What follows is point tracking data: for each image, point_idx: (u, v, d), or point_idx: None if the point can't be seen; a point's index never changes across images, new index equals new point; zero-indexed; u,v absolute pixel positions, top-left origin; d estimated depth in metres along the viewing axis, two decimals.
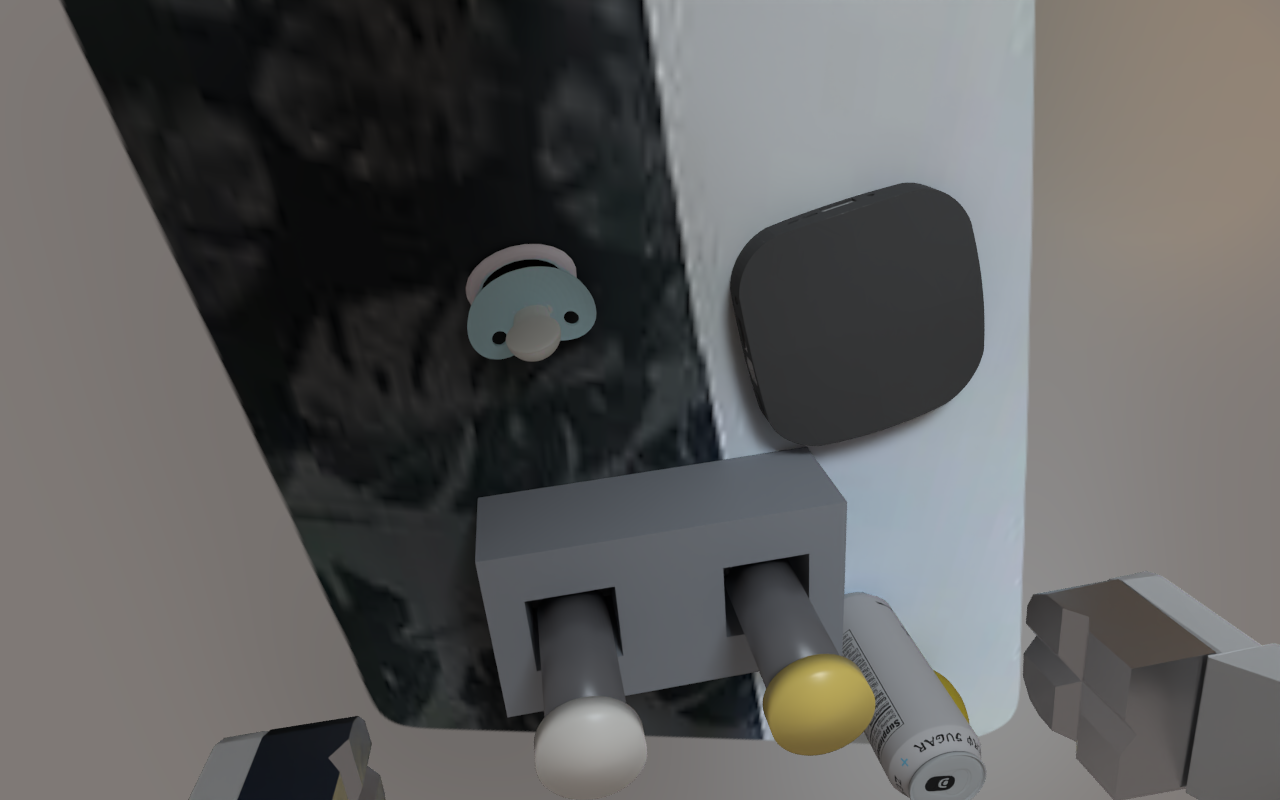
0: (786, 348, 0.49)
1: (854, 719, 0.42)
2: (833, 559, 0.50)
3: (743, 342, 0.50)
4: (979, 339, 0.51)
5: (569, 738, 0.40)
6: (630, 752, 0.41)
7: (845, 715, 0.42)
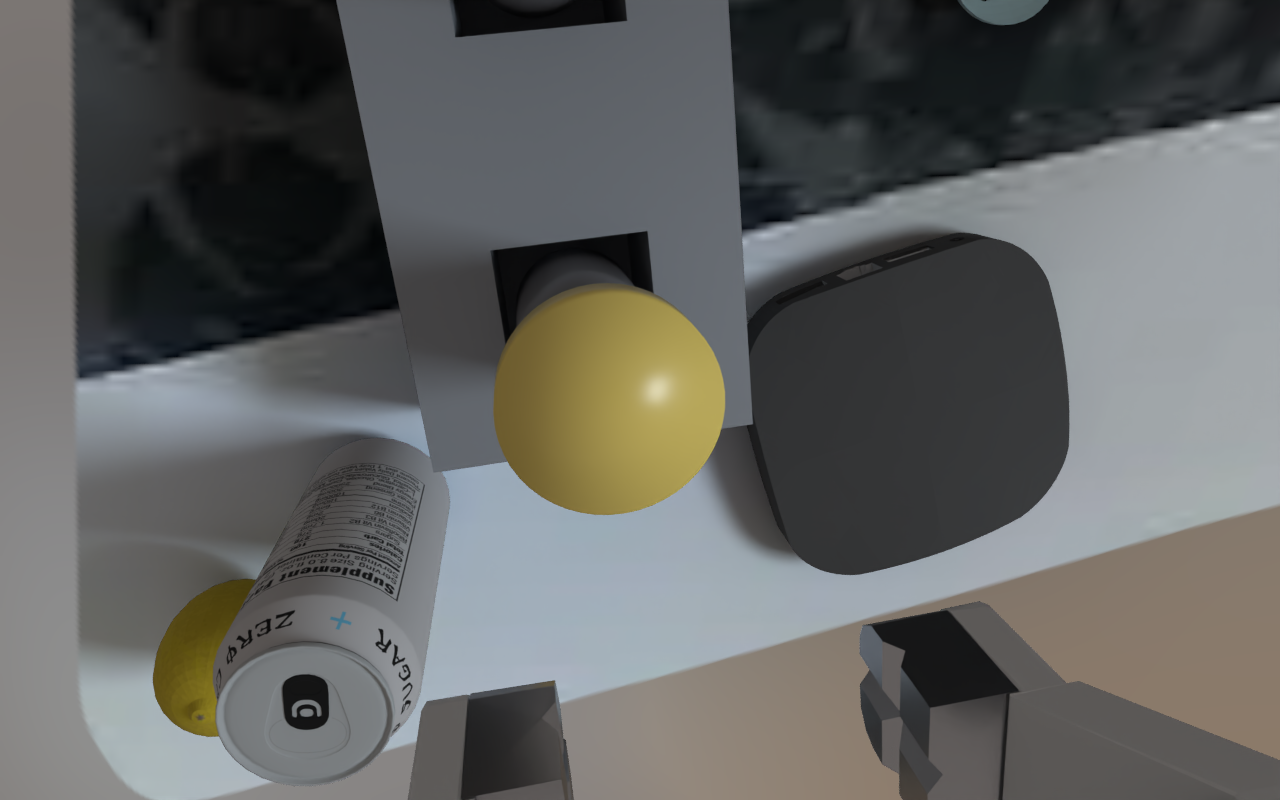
0: (907, 312, 0.35)
1: (590, 477, 0.20)
2: None
3: (888, 257, 0.36)
4: (876, 565, 0.40)
5: None
6: None
7: (604, 456, 0.20)
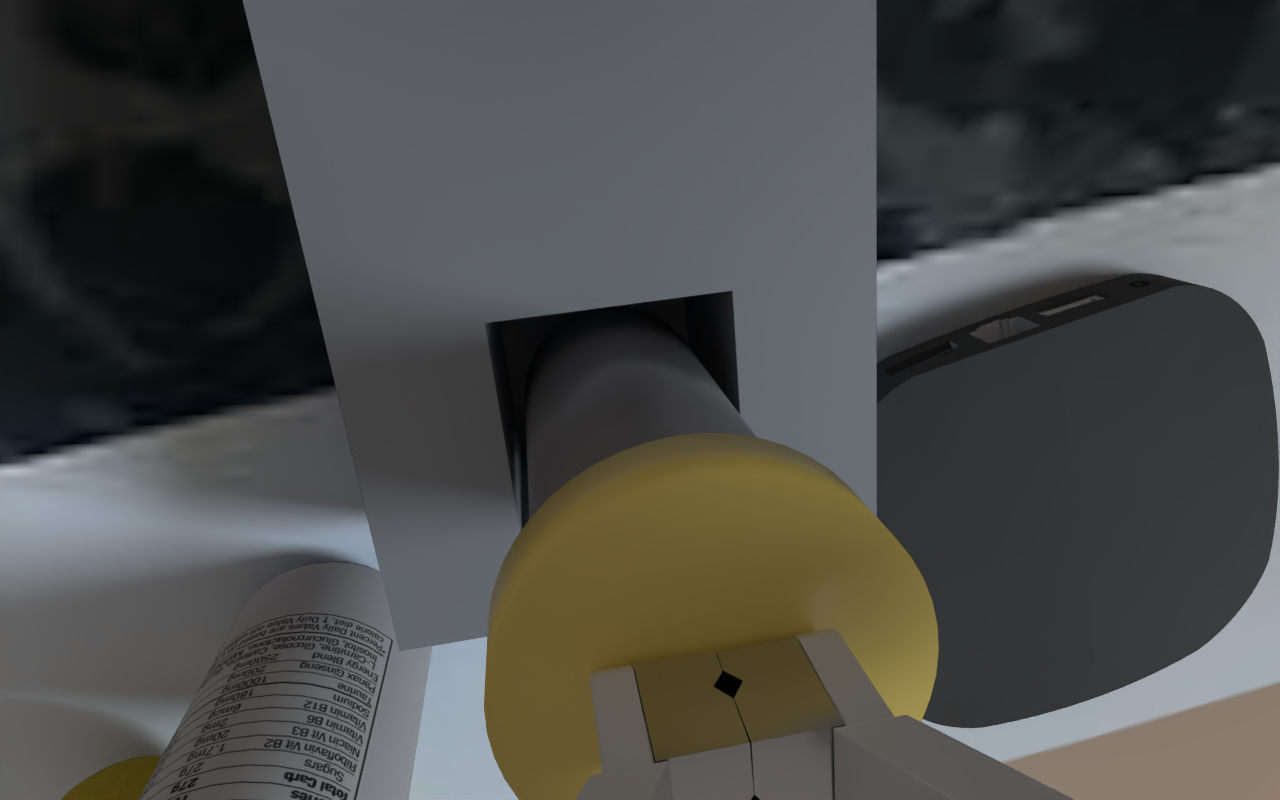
0: (1074, 388, 0.25)
1: None
2: None
3: (1041, 308, 0.26)
4: (1007, 716, 0.30)
5: None
6: None
7: None
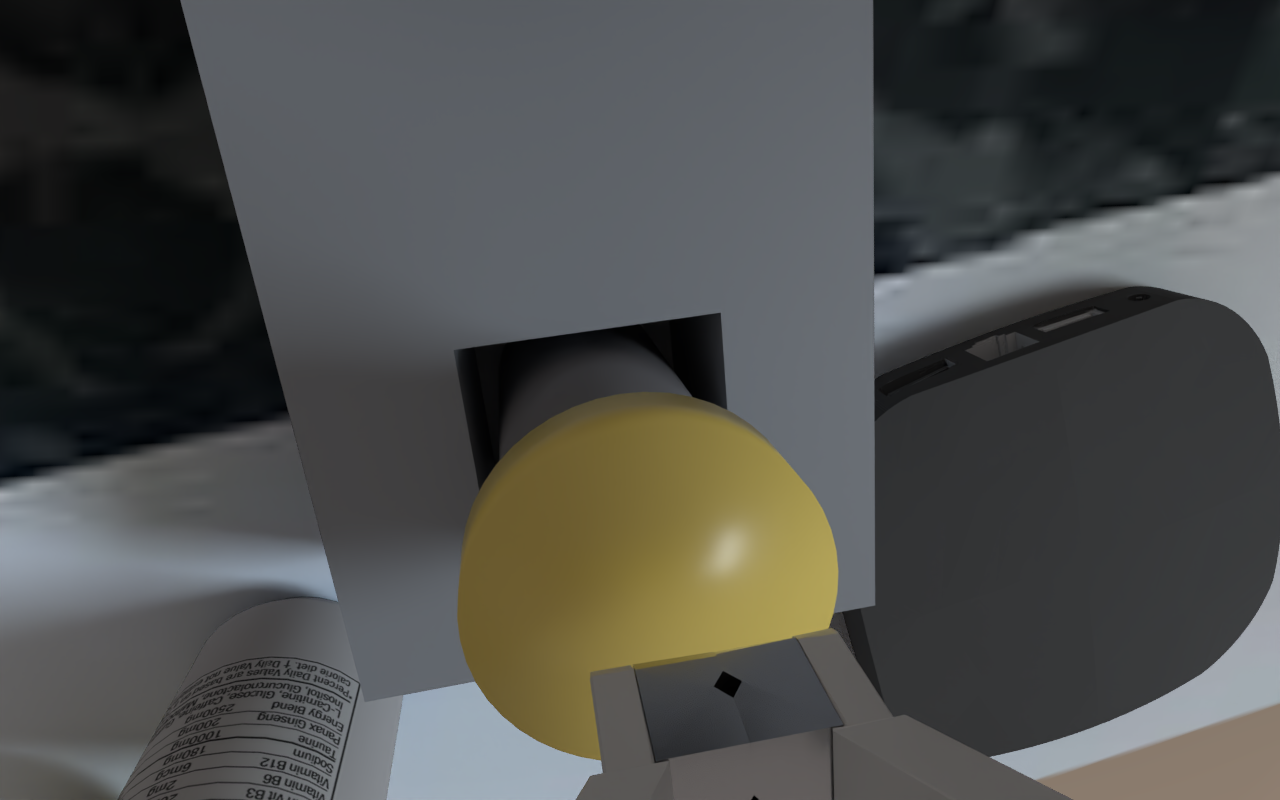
0: (1075, 406, 0.24)
1: None
2: None
3: None
4: (1007, 746, 0.28)
5: None
6: None
7: None
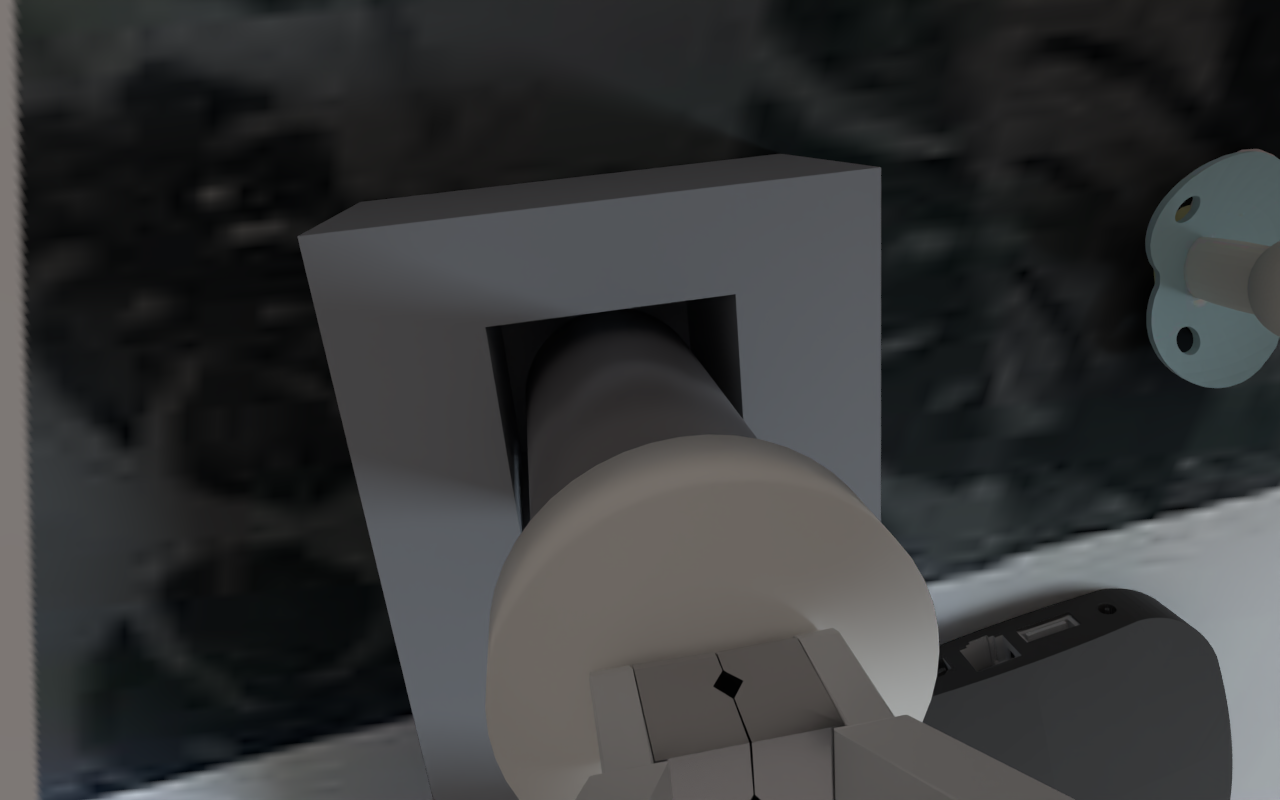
0: (1051, 707, 0.29)
1: None
2: None
3: (1022, 626, 0.30)
4: None
5: (854, 603, 0.10)
6: None
7: None
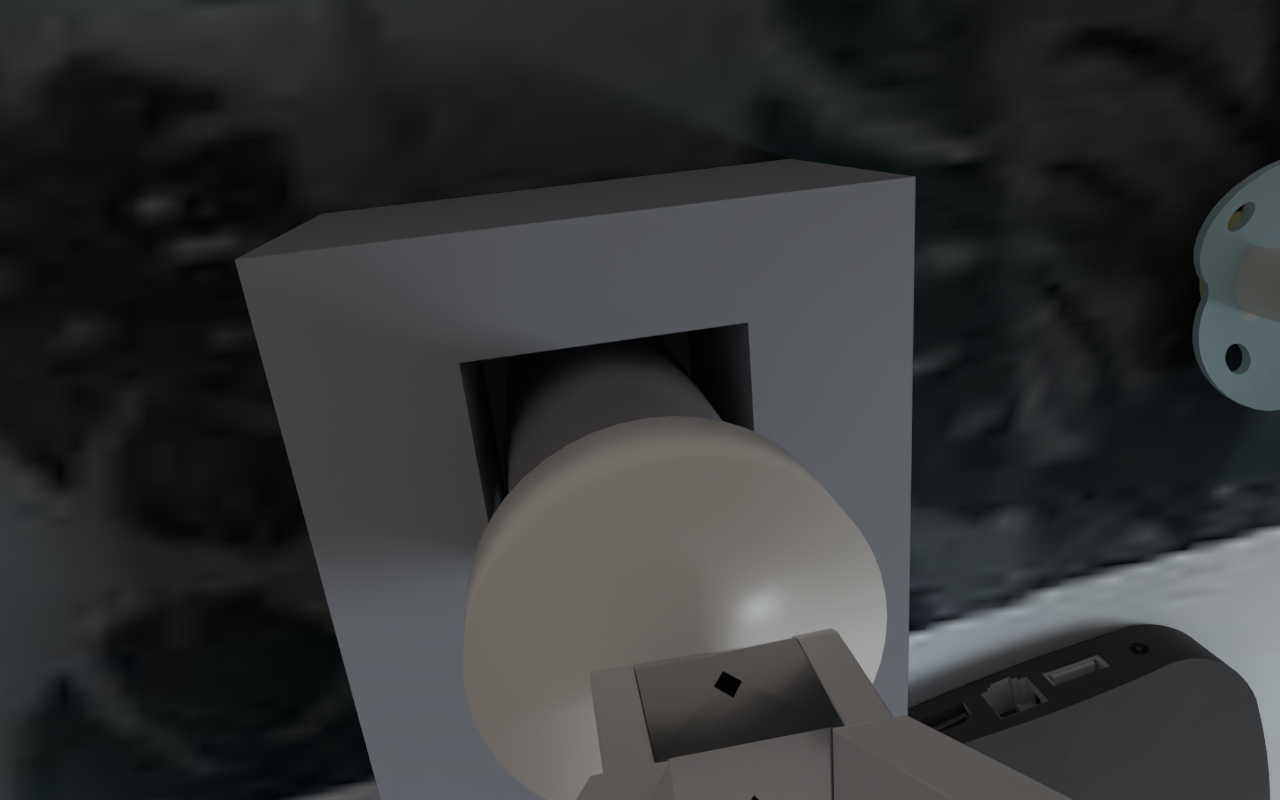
0: (1080, 756, 0.27)
1: None
2: None
3: (1047, 667, 0.28)
4: None
5: (806, 571, 0.10)
6: None
7: None
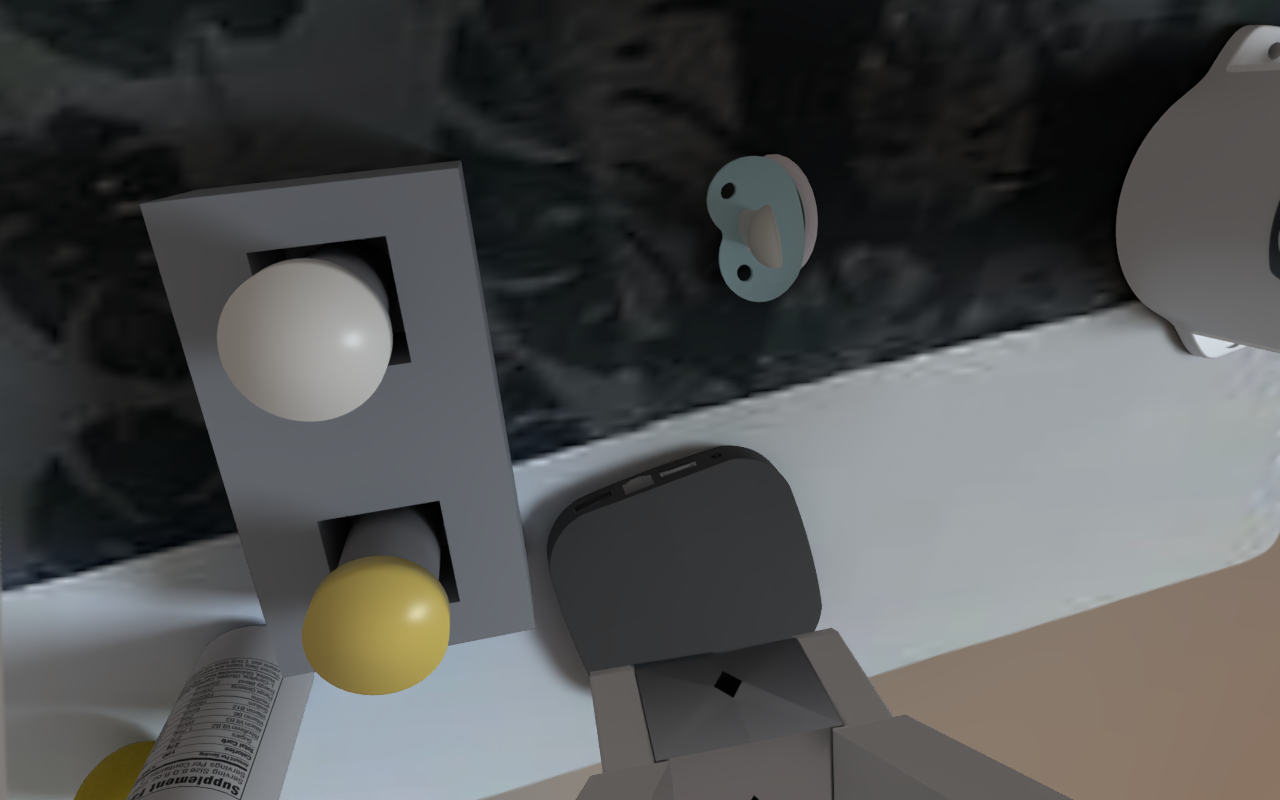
0: (675, 517, 0.45)
1: (367, 674, 0.33)
2: (449, 632, 0.39)
3: (664, 469, 0.46)
4: None
5: (349, 313, 0.28)
6: (318, 398, 0.29)
7: (375, 662, 0.33)
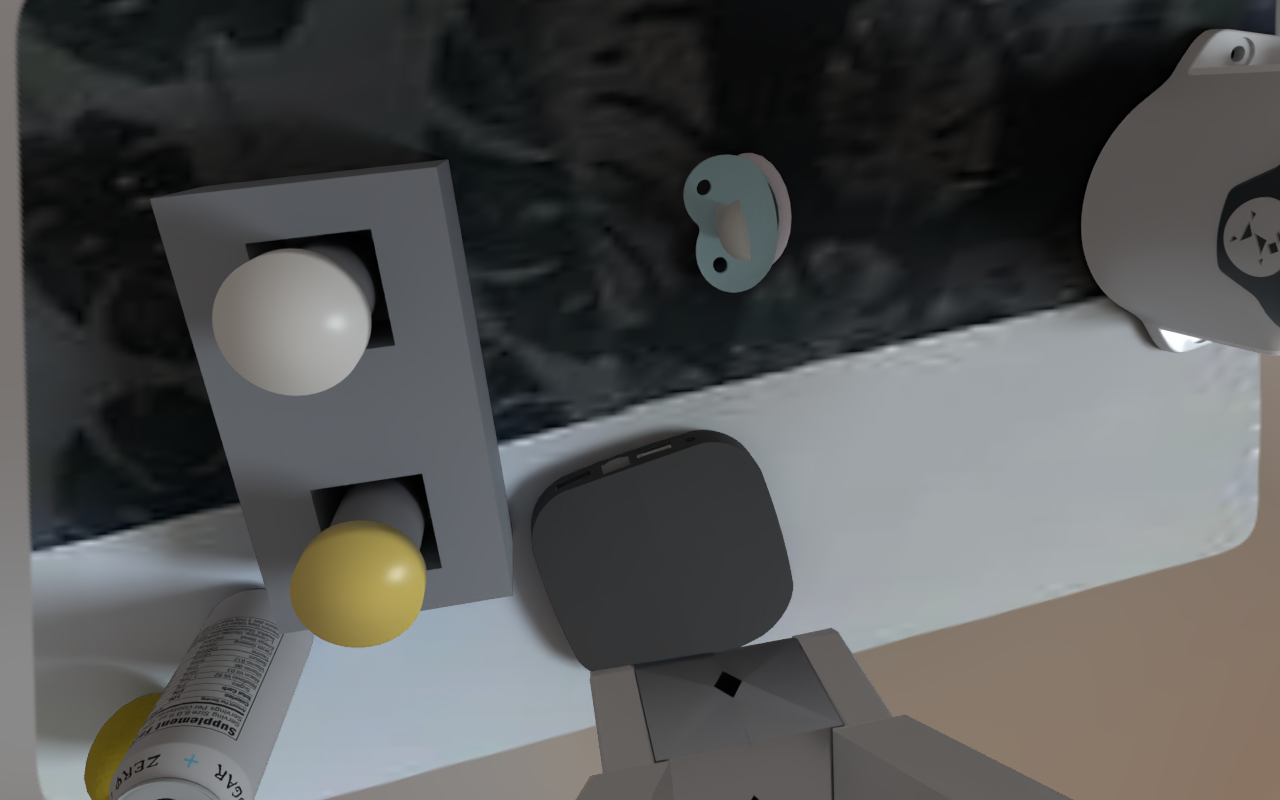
0: (650, 497, 0.48)
1: (349, 628, 0.36)
2: (432, 596, 0.43)
3: (641, 451, 0.49)
4: None
5: (330, 297, 0.31)
6: (302, 375, 0.32)
7: (356, 617, 0.36)
